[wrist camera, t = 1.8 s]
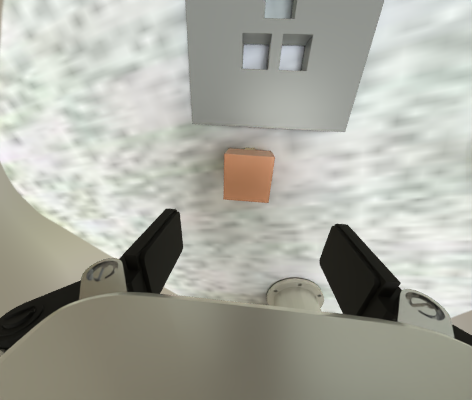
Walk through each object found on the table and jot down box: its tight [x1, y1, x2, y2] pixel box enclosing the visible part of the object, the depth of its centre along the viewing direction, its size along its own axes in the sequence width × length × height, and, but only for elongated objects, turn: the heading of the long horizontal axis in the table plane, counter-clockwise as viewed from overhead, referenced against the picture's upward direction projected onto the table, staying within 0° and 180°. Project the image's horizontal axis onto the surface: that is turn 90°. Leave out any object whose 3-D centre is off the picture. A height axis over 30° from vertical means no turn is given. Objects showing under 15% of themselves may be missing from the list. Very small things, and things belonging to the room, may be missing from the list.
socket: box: [185, 0, 384, 132], centre depth 19 cm, size 20×20×3 cm
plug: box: [224, 148, 275, 203], centre depth 25 cm, size 6×6×7 cm
